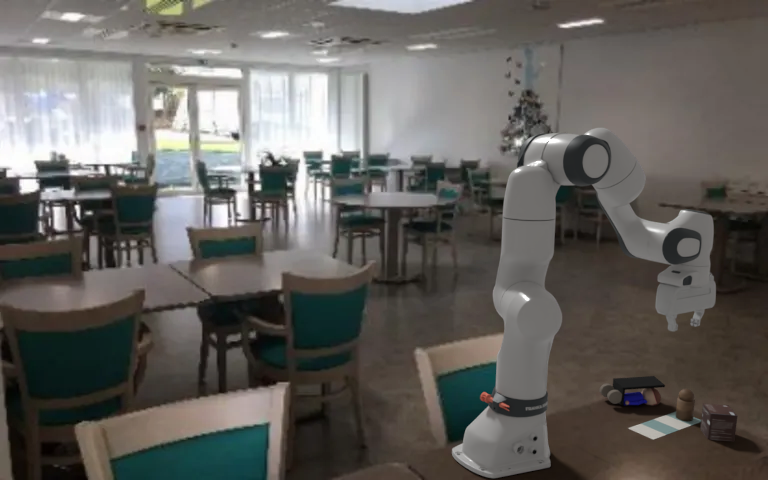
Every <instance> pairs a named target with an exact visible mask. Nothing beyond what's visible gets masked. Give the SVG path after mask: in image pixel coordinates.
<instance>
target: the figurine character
mask: <svg viewBox="0 0 768 480" xmlns="http://www.w3.org/2000/svg"><path fill="white" fill-rule="evenodd" d="M665 387H666V385H665V384H664V383H663V382H662V381H661V380H660V379H659V378H657V377H656V376H655V375H648V376H647V375H646V376H634V377H633V376H632V377H617V378H616V377H615V378H613V379H612V384H610V383H603V384H602V385H600V387H599V393H600V394H601V396H603V397H605V398H607V400H608V401H609V402H610V403H612V404H614V405H615V404H618V405H620V406H622V407H623V406H639V405H642V404H644V405H647V406H658V405H659V404H660V403H661V400H662V396H661V393H660V391H658V388H665ZM656 388H657V389H656ZM626 390H629V391H630V390H642V391H637V392H636V391H635V392H626Z"/></svg>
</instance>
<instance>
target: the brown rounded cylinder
mask: <svg viewBox="0 0 768 480" xmlns="http://www.w3.org/2000/svg"><path fill="white" fill-rule="evenodd" d="M695 400H696V399H695V394H694V392H693V391H692V389H689V388H682V389H681V390H680V391H679V392H678V396H677V398H676V407H675V408H676V410H675V412H676V418H677V419H679V420H682V421H693V417H694V415H695V414H694V412H695V403H696V401H695Z"/></svg>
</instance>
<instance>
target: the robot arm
mask: <svg viewBox="0 0 768 480" xmlns="http://www.w3.org/2000/svg"><path fill="white" fill-rule="evenodd" d="M646 179H647V176H646V173H645V170H644V168H643V166H642V164H641V163H640V161H639V159H638V158H637V157H636V155H635V154H634V153H633V152H632V150H631V149H630V148H629V147H628V145H626V143H625V142H624V141H623V140H622V139H621V138H620V137H619V136H618V135H616V134H615V132H613V131H612V130H610V129H609V128H606V127H595V128H592V129H590V130H587V131H586V132H585V133H583V134H577V133H568V132H552V133H539V134H538V133H537V134H535V135H532V136H530V137H529V138H527V139H526V140H525V141H524V143H523V144H522V146H521V148H520V150H519V152H518V158H517V163H516V168H515V169H513V170H512V171H511V172H510V174H509V176H508V178H507V183H506V187H505V192H504V198H503V206H502V221H501V222H502V224H501V225H502V226H501V228H502V229H501V246H500V258H499V263H498V267H497V272H496V277H495V278H496V279H495V285H494V287H493V290H492V301H493V306H494V308H495V310H496V313H497V314H498V315H499V316H500V318H502V319H503V324H504V328H503V329H504V331H503V338H502V341H501V345H500V348H499V350H498V352H497V354H496V368H495V369H496V372H495V373H496V374H495V386H494V388H492V389H493V390H492V393H491V394H489V393H487V392H486V391H483V392H482V393H481V394H480V395H479V400H480V401H482V402H485V403H486V404H488V406H486V408H484V410H483V411H482V412H481V413H479V415H478V416H477V417H475V419H474V420H473V421H472V422H471V423H470V424H468V426H466V428H465V431H464V434H463V441H462V443H460V444H458V445H456V446H454V447H452V448H451V454H452V455H451V456H452V457H453V458H454V460H455V461H456V462H458V463H459V464H460V465H461V466H462V467H464V468H466V469H467V470H469V471H471V472H472V473H474V474H476V475H478V476H479V475H480V476H482V477H485V478H489V479H498V478H502V477H503V478H504V477H508V476H513V475H517V474H523V473H528V472H532V471H538V470H544V469H549V468H550V467H551V463H552V462H551V459H550V456H551V449H550V447H549V440H548V439H549V437H548V436H549V435H548V426H547V417H546V412H547V410H548V404H549V392H548V391H547V383H548V371H549V370H548V369H549V368H548V367H549V359H550V354H551V349H552V346H553V343H554V339H555V335H556V334H558V332H559V330H560V328H561V327H562V323H563V312H562V310H561V307H560V305H559V303H558V301H557V299H556V297H554V295H553V294H552V293H551V292H549V291H548V290H547V289H546V286H545V284H546V282H545V281H546V276H547V272H548V269H549V265H550V263H551V260H552V259H553V256H554V254H555V233H556V218H557V217H556V216H557V215H556V214H557V211H556V210H557V209H556V207H557V206H556V196H557V193H558V191H559V189H560V187H561V186H576V187H588V186H592V187H593V188H594V190H595V194H596V199H597V202H598V204H599V206H600V208H601V210H602V211H603V213H604V214H605V216H606V218H607V221H609V223H610V224H611V226H612V228H613V230H614V232H615V235H616V237H617V240H618V244H619V247H620V249H621V251H622V252H623V254H624V255H626V256H627V257H629V258H632V259H643V260H646V261H651V262H655V263H660V264H665V265H669V266H668V267H667V268H665V269H664V270H663V271H661V272H659V273H658V274H657V282H659V284H658V286H657V289H656V294H655V295H656V296H655V310H656V312H657V314H659V315H663V316H665V318H666V321H667V330H668V331H669V332H676V331H678V330H679V329H678V328H679V324H678V323H677V321H676V319H677V317H678V315H680V314H686V313H687V314H688V313H692V312H694V313H693V316H692V318H690V323H689V324H690V326H691V327H695V328H696V327H699V326H701V320H702V318H703V316H704V314H705V310H706V309H707V310H708V309H711V308H713V307H715V305H716V297H717V296H716V295H717V285H716V281H715V276H714V275H713V273H712V272H711V258H710V257H711V256H710V255H711V252H712V250H713V246H714V245H713V244H714V236H715V235H714V230H715V229H714V220H713V219H714V218H713V216H712V214H710V213H708V212H705V211H701V210H694V209H681V210H680V211H679V213H678V215H677V216H676V217H675V218H674V219H672V220H671V221H668V222H667V223H666V222H665V223H663V222H656V221H652V220H647V219H645V218H641V217H639V216H638V215H637V214H636V212H635V211H634V210H633V208H632V205H631V204H630V203H632V202H633V201H635V200H636V199H637V198H638V197H639V196H640V194H641V193H642V192H643V190H644V187H645V185H646Z"/></svg>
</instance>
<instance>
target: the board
mask: <svg viewBox="0 0 768 480" xmlns="http://www.w3.org/2000/svg"><path fill="white" fill-rule="evenodd" d="M696 424H701V418H700V419H699V418H697V417H695V416H693V421H682V420H679V419H677V418H676V411H674V412H671V413H668V414H665V415H661V416H659V417H656V418H653V419H650V420H648V421H645V422H641V423H640V424H636V425H633V426H630V427H627V429H629V430H631V431H633V432H635V433H638V434H639V435H642V436H644V437H646V438H648V439H650V440H656V439H660V438H662V437H664V436H666V435H669V434H672V433H675V432H677V431H680V430H683V429H686V428H689V427H691V426H693V425H696Z"/></svg>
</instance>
